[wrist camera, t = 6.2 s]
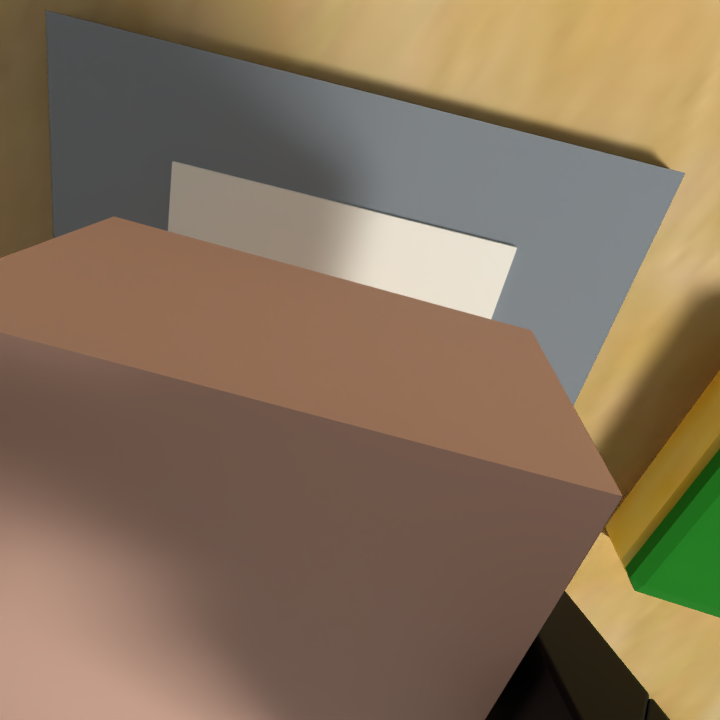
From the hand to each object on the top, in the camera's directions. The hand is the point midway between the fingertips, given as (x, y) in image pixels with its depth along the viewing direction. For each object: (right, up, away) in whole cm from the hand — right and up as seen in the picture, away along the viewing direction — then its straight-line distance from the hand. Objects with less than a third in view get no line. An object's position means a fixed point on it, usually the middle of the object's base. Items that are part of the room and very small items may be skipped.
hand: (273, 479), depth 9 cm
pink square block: (0, 0, +1) cm, 1 cm away
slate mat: (0, +2, +5) cm, 5 cm away
